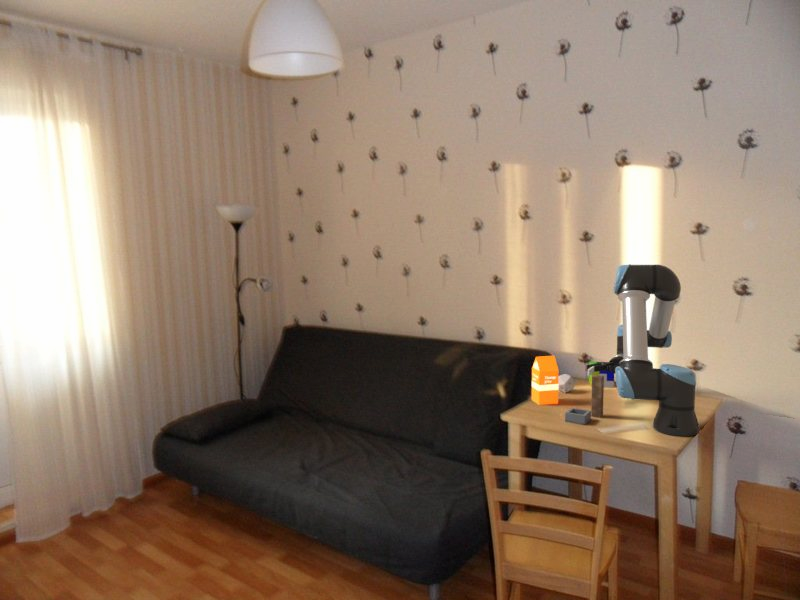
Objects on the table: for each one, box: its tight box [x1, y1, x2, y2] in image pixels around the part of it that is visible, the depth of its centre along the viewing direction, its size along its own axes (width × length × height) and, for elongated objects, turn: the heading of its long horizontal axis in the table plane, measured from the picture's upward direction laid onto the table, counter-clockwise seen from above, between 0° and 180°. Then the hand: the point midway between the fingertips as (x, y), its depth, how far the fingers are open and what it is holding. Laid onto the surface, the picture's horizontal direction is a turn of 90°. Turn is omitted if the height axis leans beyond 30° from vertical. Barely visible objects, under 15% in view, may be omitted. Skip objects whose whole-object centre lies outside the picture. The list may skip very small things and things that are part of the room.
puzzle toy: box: [588, 361, 615, 389], centre depth 266 cm, size 10×10×10 cm
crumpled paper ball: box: [558, 373, 576, 394], centre depth 256 cm, size 8×9×10 cm
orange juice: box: [531, 355, 559, 406], centre depth 240 cm, size 8×9×20 cm
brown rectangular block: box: [590, 375, 605, 419], centre depth 221 cm, size 4×4×16 cm
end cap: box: [564, 407, 592, 426], centre depth 216 cm, size 8×8×4 cm
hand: (605, 375), depth 228 cm, fingers open, 13 cm apart
